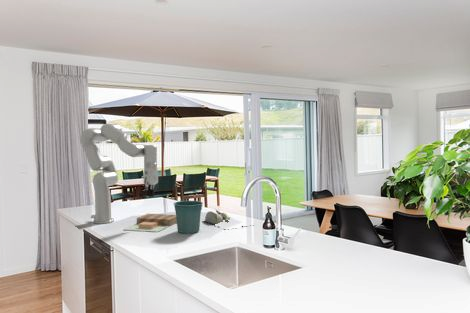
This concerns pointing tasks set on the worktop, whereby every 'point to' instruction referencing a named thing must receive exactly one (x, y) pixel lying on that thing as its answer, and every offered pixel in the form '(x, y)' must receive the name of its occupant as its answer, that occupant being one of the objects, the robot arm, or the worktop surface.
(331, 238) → the worktop surface
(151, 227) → the terracotta tile
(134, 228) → the sage mat
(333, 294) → the worktop surface
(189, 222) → the flower pot
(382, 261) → the worktop surface
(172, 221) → the board
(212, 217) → the grey lumpy piece
